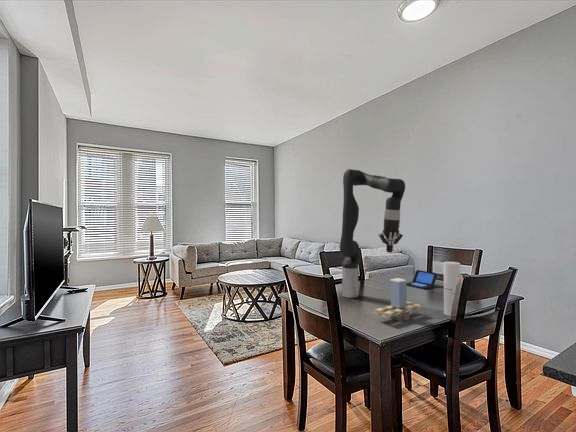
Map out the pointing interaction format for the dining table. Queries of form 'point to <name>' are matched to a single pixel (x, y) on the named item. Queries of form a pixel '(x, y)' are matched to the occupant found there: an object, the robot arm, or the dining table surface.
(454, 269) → the cylindrical container
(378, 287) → the dining table surface
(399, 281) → the blue rectangular block
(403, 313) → the ginger root
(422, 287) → the handheld game console
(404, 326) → the dining table surface
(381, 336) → the dining table surface
